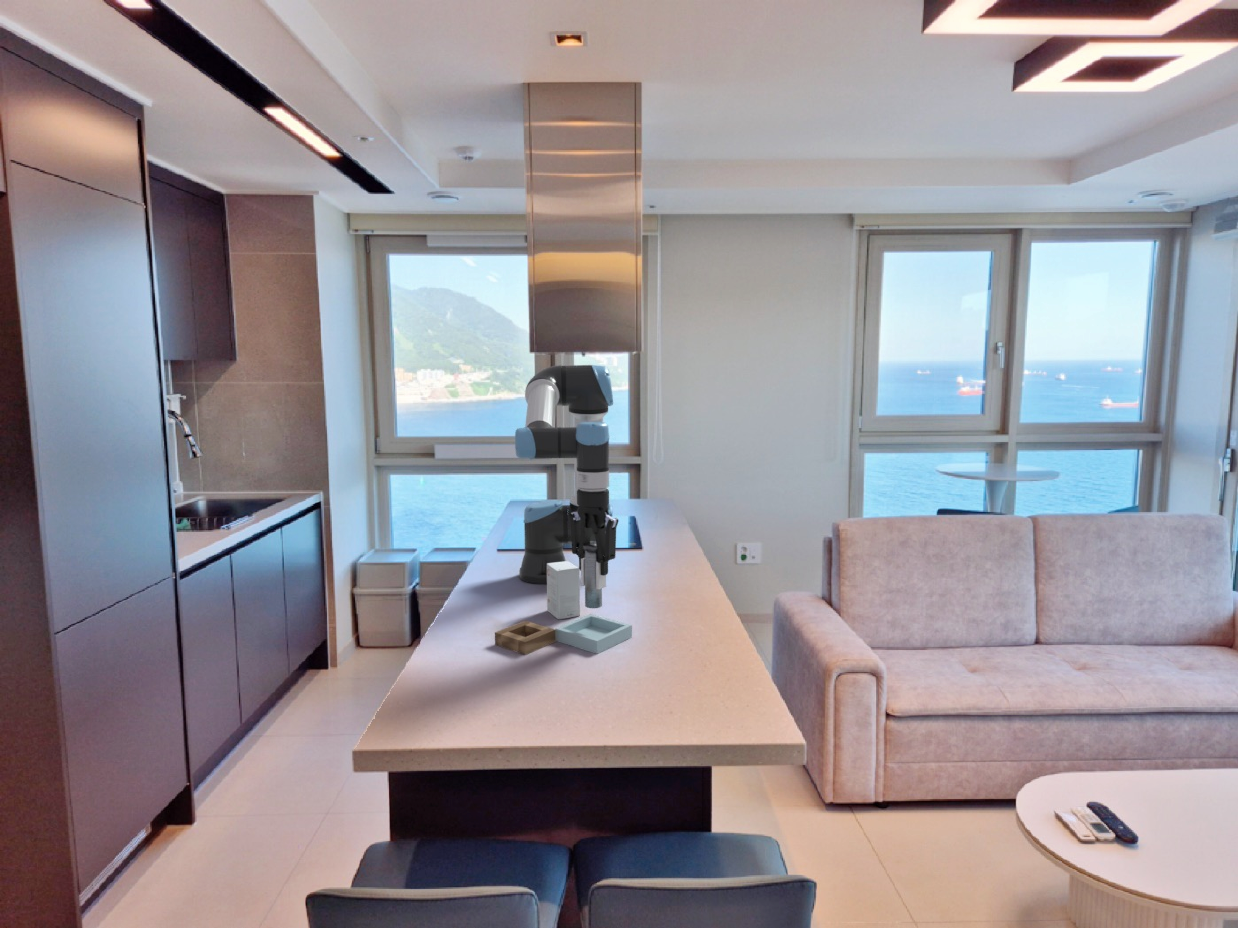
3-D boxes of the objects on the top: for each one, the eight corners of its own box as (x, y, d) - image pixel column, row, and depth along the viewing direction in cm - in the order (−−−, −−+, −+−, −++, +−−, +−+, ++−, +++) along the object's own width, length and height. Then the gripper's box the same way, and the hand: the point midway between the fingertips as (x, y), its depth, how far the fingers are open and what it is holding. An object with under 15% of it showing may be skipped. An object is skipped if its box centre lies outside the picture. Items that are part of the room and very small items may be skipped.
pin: (579, 606, 178) (578, 545, 176) (592, 601, 182) (591, 541, 180) (594, 610, 176) (594, 548, 173) (607, 604, 179) (607, 544, 177)
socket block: (495, 644, 177) (494, 632, 176) (525, 632, 184) (525, 620, 184) (525, 654, 171) (525, 642, 170) (555, 641, 178) (555, 629, 178)
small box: (580, 616, 196) (580, 567, 194) (557, 620, 193) (557, 570, 191) (568, 607, 203) (568, 560, 201) (546, 610, 200) (545, 563, 199)
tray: (555, 640, 179) (555, 628, 179) (590, 625, 189) (590, 613, 189) (597, 653, 171) (597, 641, 171) (631, 637, 181) (631, 625, 181)
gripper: (555, 487, 177) (556, 583, 181) (611, 494, 167) (611, 596, 170) (576, 483, 183) (576, 576, 186) (631, 490, 173) (631, 588, 176)
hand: (593, 585), depth 178 cm, fingers closed on pin, 4 cm apart
